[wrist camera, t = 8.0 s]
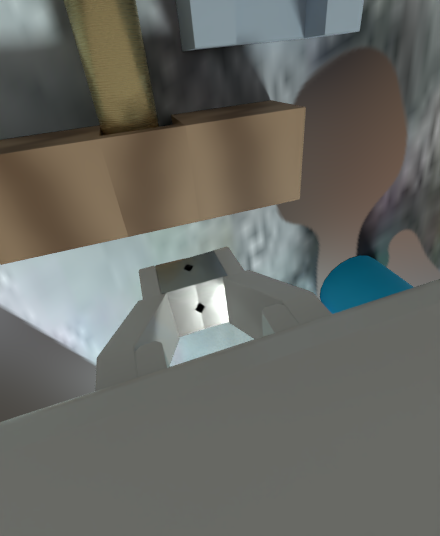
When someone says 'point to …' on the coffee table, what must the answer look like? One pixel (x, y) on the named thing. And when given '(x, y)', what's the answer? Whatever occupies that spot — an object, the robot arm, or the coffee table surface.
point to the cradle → (263, 21)
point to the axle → (114, 63)
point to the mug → (359, 284)
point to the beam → (145, 177)
